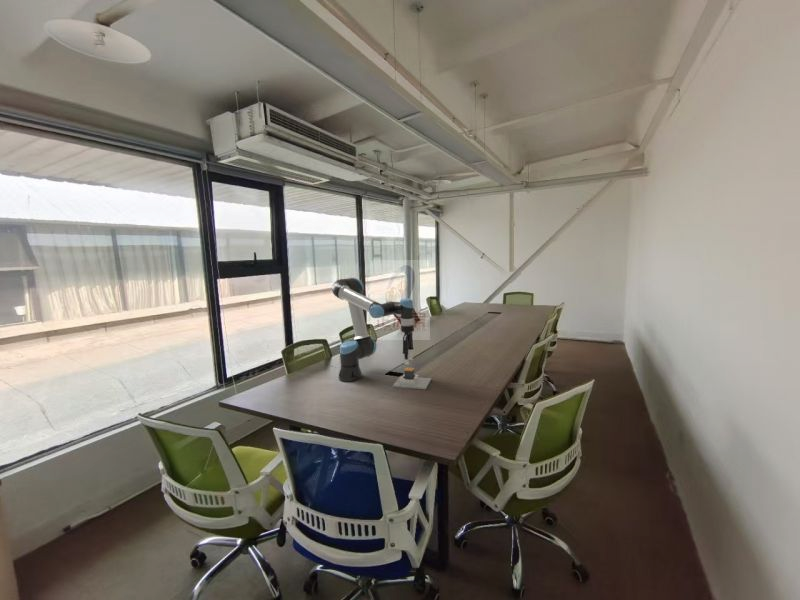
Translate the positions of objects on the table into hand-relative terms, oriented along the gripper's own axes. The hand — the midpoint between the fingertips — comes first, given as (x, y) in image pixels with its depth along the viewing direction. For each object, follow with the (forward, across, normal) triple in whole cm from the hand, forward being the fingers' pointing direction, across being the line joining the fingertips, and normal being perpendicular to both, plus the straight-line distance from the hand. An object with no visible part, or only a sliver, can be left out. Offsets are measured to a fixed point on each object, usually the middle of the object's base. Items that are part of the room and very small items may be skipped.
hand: (408, 362), depth 202 cm
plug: (+12, 0, 0) cm, 12 cm away
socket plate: (+13, 0, -2) cm, 13 cm away
